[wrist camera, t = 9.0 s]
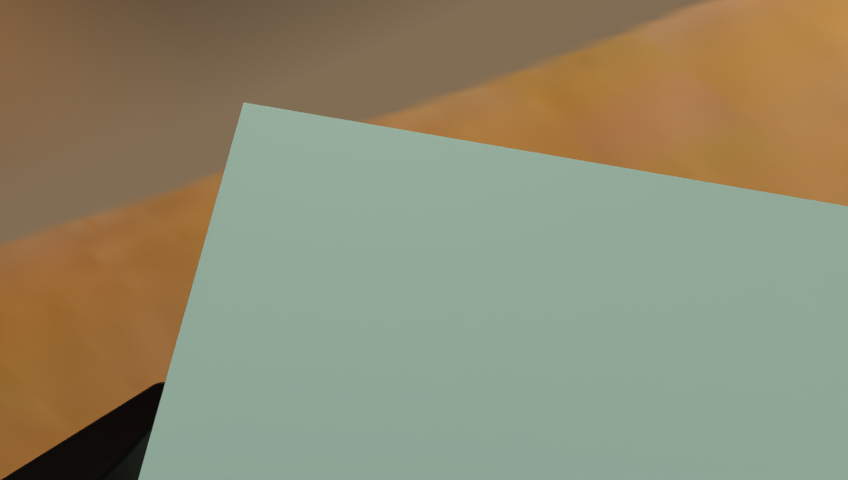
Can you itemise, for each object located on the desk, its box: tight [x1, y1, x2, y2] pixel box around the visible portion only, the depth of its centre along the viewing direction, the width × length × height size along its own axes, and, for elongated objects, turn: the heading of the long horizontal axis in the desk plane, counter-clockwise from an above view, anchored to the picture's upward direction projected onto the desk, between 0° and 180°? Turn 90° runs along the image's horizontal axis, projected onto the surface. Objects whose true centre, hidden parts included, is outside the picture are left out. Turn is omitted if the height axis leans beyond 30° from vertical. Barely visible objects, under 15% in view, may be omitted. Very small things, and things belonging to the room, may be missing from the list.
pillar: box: [138, 103, 848, 480], centre depth 10 cm, size 5×5×13 cm
